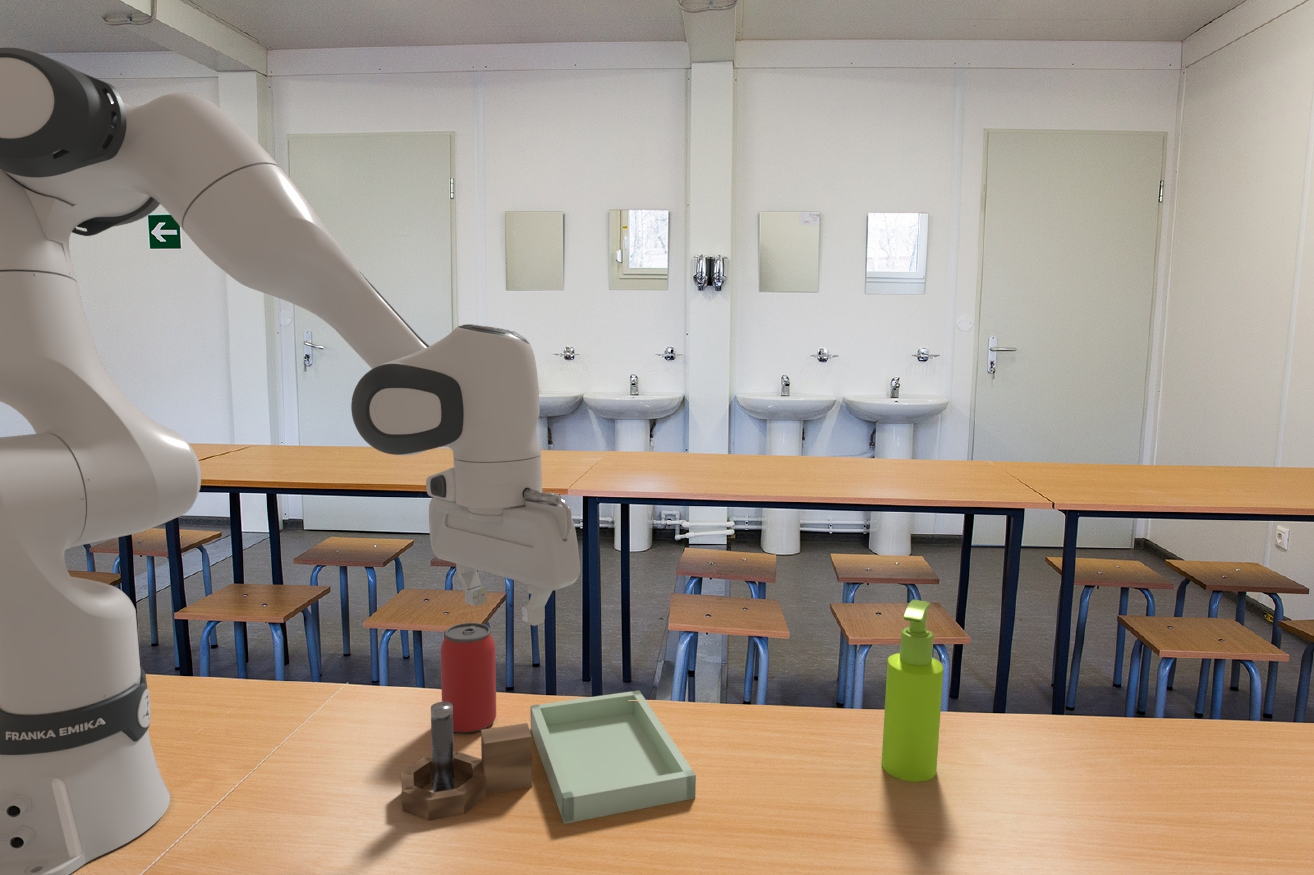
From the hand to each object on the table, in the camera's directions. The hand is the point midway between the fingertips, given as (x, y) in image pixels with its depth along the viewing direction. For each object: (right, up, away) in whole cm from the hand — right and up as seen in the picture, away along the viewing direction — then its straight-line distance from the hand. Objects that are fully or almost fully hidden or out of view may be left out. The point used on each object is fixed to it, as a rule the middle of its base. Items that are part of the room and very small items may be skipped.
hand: (503, 613), depth 82 cm
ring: (-4, -19, +1) cm, 20 cm away
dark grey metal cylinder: (-6, -19, 0) cm, 20 cm away
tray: (+10, -19, +7) cm, 22 cm away
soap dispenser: (+44, -20, +5) cm, 49 cm away
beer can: (-7, -17, +16) cm, 25 cm away
